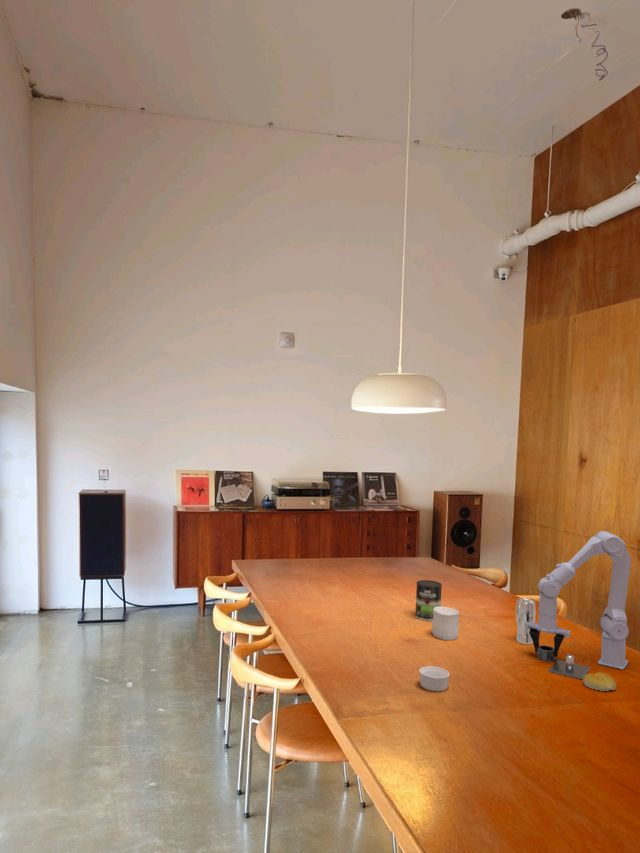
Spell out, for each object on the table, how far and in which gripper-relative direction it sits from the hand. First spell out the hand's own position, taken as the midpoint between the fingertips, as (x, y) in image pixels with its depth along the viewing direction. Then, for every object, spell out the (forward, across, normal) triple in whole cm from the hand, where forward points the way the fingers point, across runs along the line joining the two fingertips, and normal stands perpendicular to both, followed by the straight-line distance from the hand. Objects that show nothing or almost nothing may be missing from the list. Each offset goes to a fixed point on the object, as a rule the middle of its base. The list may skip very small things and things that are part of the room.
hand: (546, 653), depth 205 cm
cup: (+2, -36, -2) cm, 36 cm away
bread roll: (+2, +19, -13) cm, 23 cm away
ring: (+2, 0, 0) cm, 2 cm away
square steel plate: (+2, +9, -6) cm, 11 cm away
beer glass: (+2, -11, +12) cm, 17 cm away
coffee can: (+2, -51, +14) cm, 53 cm away
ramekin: (+2, -20, -46) cm, 51 cm away
